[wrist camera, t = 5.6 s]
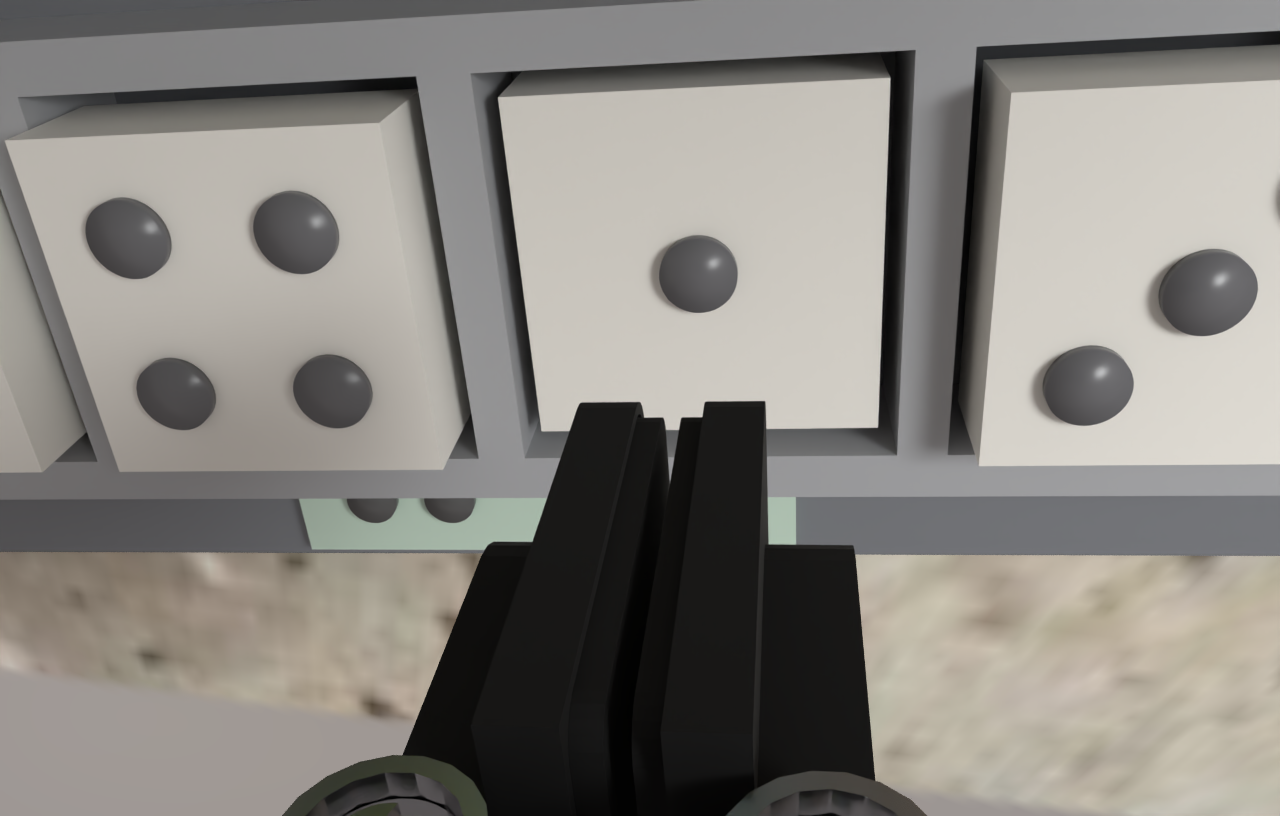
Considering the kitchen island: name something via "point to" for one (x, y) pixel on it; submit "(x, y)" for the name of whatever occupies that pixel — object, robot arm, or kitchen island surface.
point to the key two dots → (29, 370)
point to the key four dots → (253, 280)
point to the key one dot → (703, 235)
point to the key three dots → (1125, 260)
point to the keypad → (493, 293)
